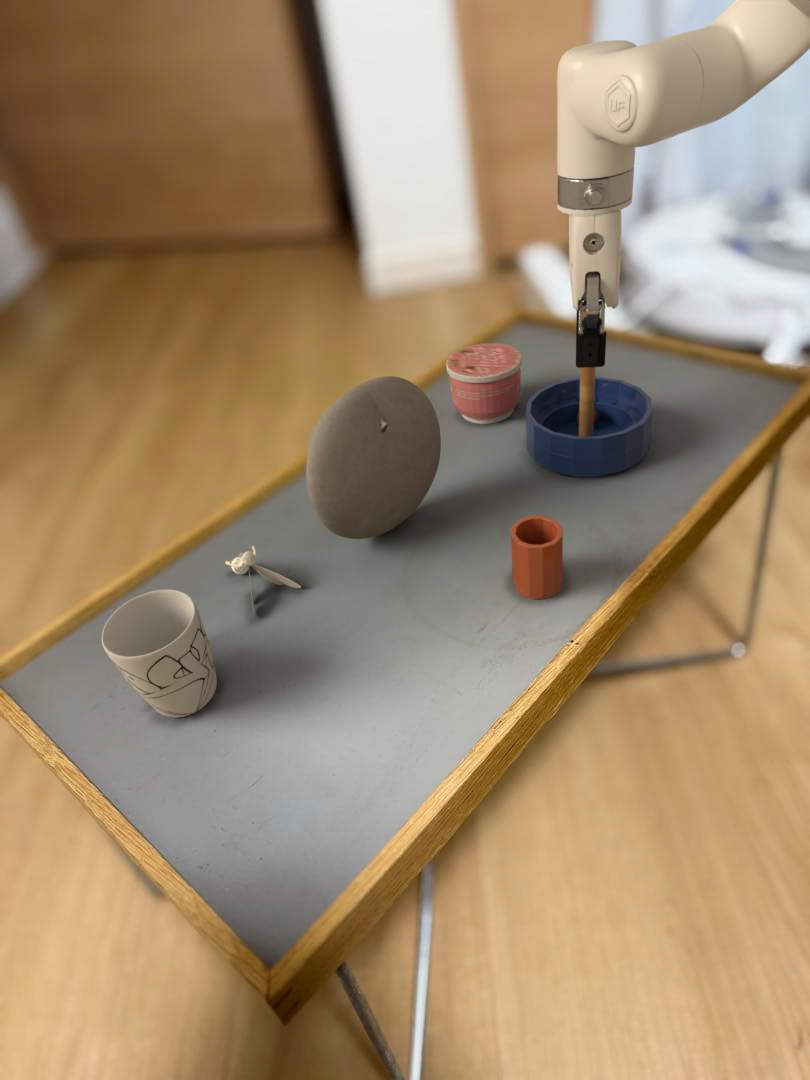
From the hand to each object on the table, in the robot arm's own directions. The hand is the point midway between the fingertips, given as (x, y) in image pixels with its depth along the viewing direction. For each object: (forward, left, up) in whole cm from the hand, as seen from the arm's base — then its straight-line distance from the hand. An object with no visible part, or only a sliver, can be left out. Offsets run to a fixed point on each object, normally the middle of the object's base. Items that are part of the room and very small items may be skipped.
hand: (589, 348), depth 83 cm
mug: (+39, +42, -14) cm, 59 cm away
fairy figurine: (+36, +28, -14) cm, 48 cm away
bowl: (0, 0, -14) cm, 14 cm away
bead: (0, -4, -12) cm, 12 cm away
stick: (0, 0, -13) cm, 13 cm away
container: (+14, -10, -14) cm, 22 cm away
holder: (+5, +26, -14) cm, 30 cm away
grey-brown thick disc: (+23, +17, -14) cm, 32 cm away
